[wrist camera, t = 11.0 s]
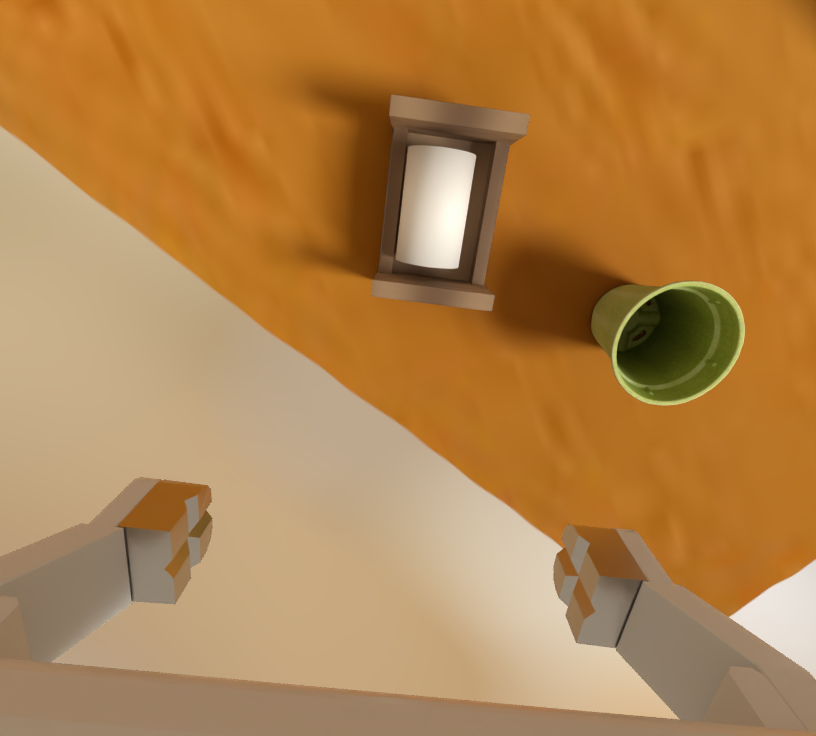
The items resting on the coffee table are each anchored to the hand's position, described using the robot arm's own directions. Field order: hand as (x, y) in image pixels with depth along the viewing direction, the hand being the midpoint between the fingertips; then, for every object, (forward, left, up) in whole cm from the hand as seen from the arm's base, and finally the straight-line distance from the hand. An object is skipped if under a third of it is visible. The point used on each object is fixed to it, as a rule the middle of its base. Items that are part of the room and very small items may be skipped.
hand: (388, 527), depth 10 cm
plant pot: (-20, 0, -31) cm, 37 cm away
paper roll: (-2, -7, -30) cm, 31 cm away
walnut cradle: (-2, -7, -31) cm, 32 cm away
